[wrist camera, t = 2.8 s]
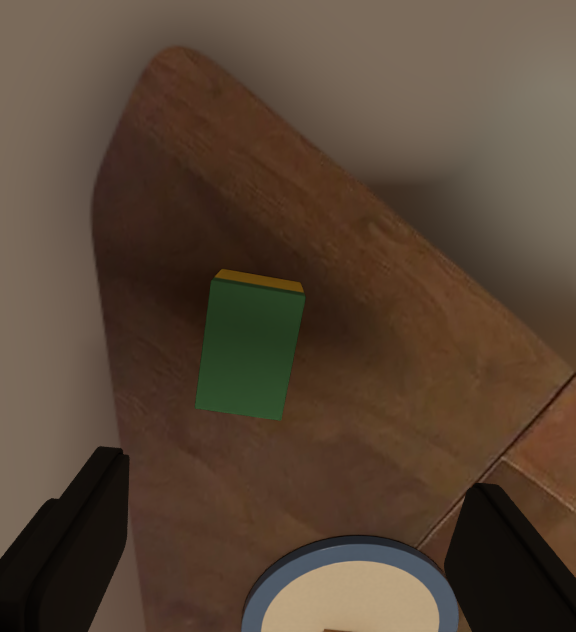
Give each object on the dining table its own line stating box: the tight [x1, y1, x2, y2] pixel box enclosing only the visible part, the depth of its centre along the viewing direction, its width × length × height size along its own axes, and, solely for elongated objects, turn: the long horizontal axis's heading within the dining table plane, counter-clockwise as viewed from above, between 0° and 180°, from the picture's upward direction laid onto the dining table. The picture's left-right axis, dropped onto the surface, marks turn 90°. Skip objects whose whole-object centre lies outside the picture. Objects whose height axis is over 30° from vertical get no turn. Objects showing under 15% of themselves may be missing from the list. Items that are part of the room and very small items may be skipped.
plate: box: [241, 536, 459, 632], centre depth 31 cm, size 18×18×1 cm
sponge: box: [195, 269, 306, 420], centre depth 22 cm, size 8×5×4 cm, turn 170°
